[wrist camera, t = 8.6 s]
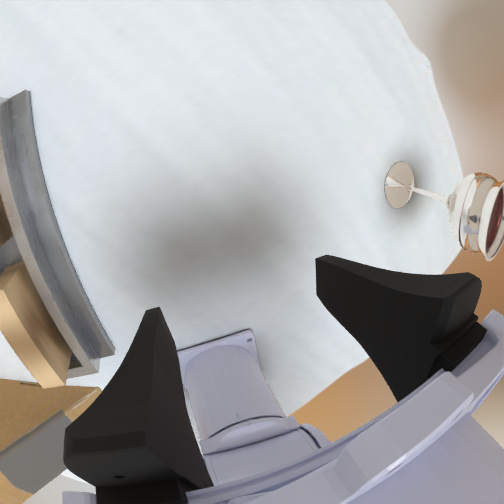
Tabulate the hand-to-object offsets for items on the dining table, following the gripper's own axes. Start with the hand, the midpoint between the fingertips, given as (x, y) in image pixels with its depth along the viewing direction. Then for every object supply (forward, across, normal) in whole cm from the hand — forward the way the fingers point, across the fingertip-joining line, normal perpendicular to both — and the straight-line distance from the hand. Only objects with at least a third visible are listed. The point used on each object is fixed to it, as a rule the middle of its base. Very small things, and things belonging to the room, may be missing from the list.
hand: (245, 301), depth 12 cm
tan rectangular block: (+9, +15, +2) cm, 17 cm away
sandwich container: (+10, +23, +15) cm, 29 cm away
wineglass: (+10, -20, 0) cm, 22 cm away
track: (+9, +15, -3) cm, 18 cm away
